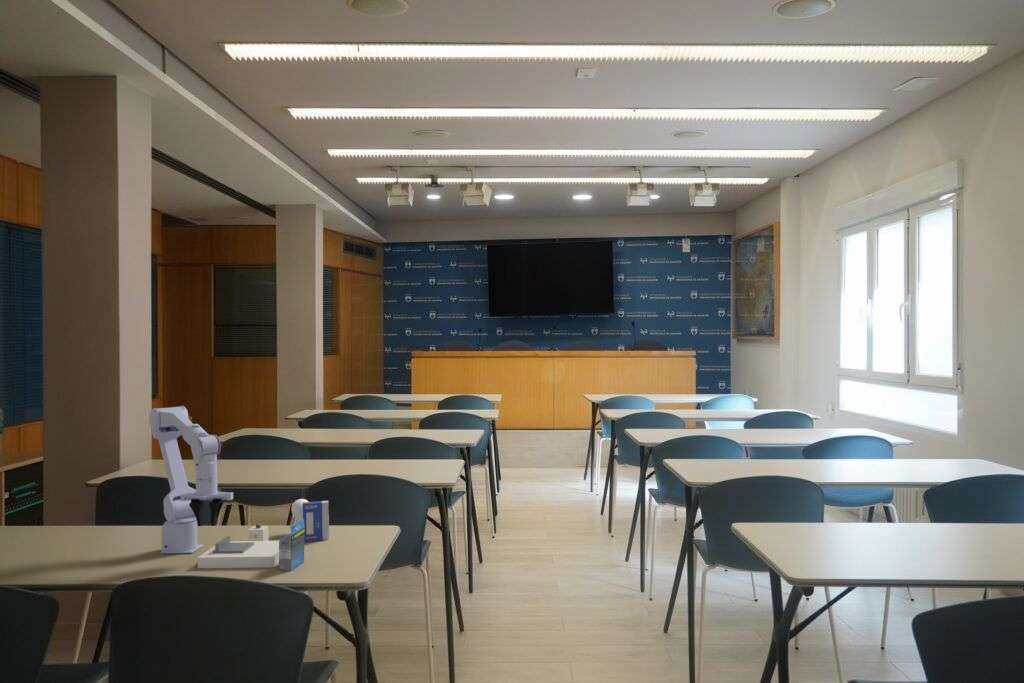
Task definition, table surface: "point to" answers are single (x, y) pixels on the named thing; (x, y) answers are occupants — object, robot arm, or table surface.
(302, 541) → the label tape box
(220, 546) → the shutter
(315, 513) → the walkman
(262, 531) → the plug
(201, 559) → the socket board
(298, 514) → the lightbulb
